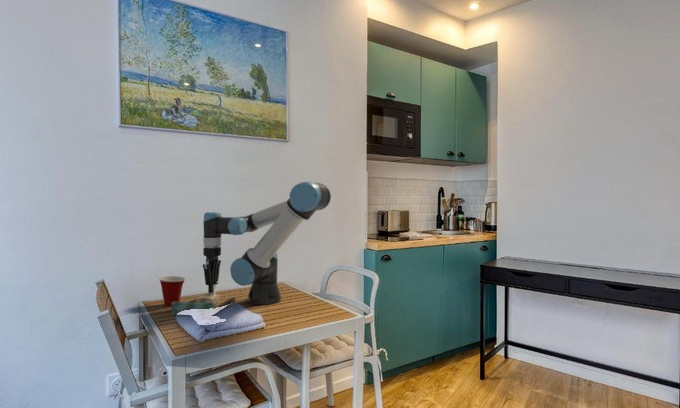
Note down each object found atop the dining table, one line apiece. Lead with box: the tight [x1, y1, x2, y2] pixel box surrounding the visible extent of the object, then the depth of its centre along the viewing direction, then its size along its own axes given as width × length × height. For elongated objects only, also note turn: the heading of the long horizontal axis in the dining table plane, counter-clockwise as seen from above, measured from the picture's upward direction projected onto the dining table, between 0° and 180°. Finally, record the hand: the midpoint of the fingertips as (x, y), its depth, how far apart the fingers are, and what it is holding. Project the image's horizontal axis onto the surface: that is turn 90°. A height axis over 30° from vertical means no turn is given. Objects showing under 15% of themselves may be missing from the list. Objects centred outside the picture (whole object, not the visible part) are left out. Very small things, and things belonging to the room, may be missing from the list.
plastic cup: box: [158, 275, 186, 307], centre depth 176 cm, size 11×11×12 cm
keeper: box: [196, 293, 220, 307], centre depth 173 cm, size 7×7×4 cm
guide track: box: [171, 295, 236, 316], centre depth 170 cm, size 17×24×5 cm
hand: (211, 299), depth 177 cm, fingers closed
